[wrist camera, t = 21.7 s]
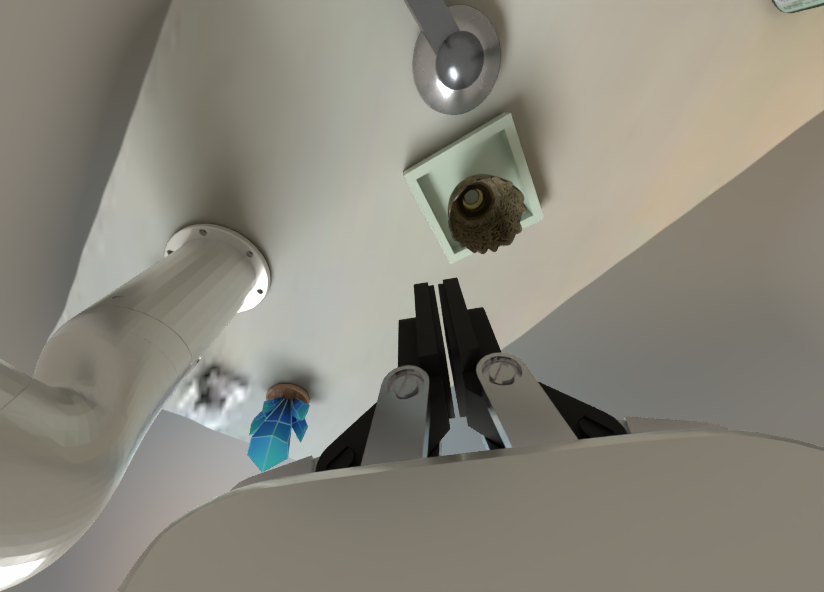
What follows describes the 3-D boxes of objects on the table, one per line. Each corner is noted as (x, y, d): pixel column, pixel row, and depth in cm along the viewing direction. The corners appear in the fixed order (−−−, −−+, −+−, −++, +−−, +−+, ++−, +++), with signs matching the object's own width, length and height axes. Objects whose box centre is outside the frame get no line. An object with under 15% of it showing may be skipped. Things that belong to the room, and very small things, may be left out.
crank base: (506, 86, 31) (512, 85, 29) (434, 129, 33) (436, 131, 31) (476, -11, 27) (481, -19, 25) (397, 44, 29) (396, 41, 27)
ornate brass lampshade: (444, 159, 34) (455, 173, 27) (510, 165, 34) (536, 180, 27) (436, 225, 38) (443, 252, 31) (495, 229, 38) (515, 256, 31)
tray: (447, 255, 40) (450, 264, 38) (403, 171, 35) (403, 175, 33) (536, 212, 38) (544, 218, 36) (503, 112, 32) (510, 112, 30)
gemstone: (312, 413, 57) (292, 480, 47) (263, 405, 55) (232, 473, 45) (318, 387, 53) (298, 454, 43) (266, 377, 52) (232, 444, 41)
